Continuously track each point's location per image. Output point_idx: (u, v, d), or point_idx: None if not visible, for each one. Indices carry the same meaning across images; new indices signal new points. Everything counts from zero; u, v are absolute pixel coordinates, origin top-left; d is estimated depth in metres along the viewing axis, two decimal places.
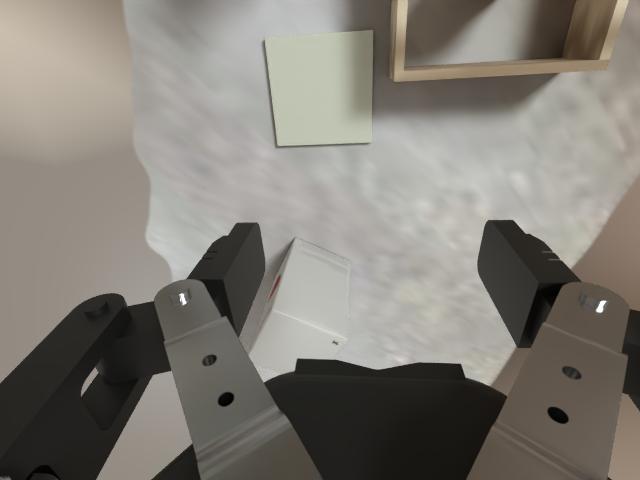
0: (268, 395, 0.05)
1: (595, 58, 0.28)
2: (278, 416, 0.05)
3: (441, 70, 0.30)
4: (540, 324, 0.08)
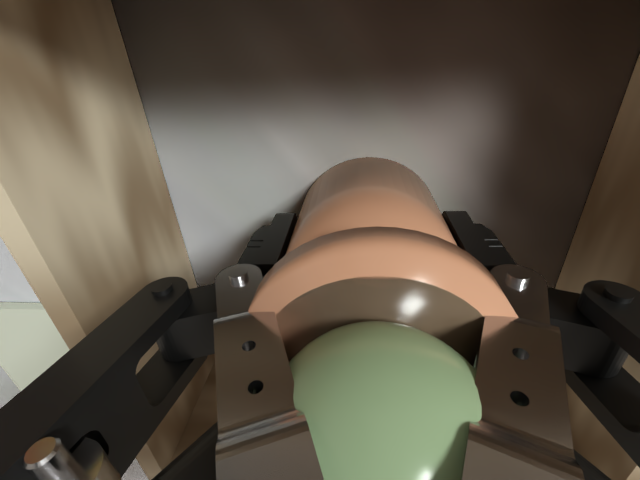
0: None
1: None
2: (299, 416, 0.05)
3: None
4: None
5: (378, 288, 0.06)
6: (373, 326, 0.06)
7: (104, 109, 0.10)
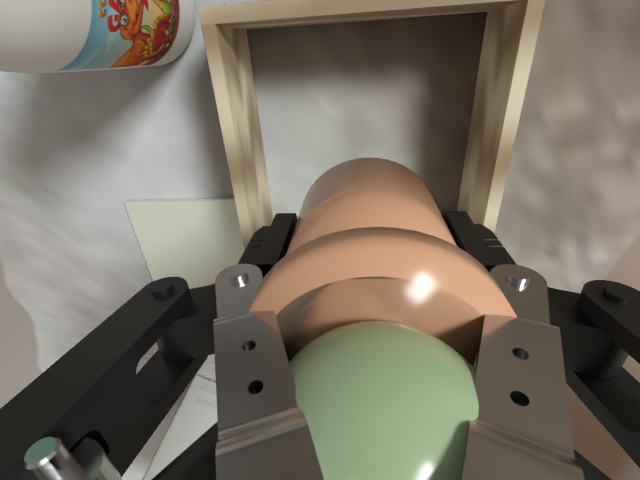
0: (295, 392, 0.05)
1: None
2: (299, 416, 0.05)
3: None
4: None
5: (378, 288, 0.06)
6: (373, 326, 0.06)
7: (245, 79, 0.23)
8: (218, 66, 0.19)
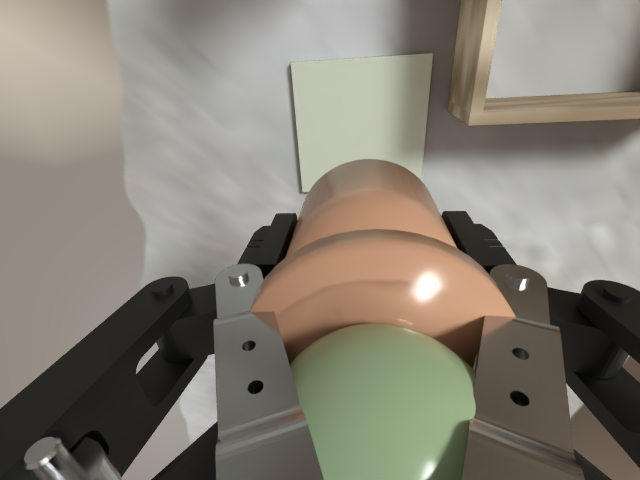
0: (295, 392, 0.05)
1: None
2: (299, 416, 0.05)
3: (534, 111, 0.22)
4: None
5: (378, 290, 0.06)
6: (373, 328, 0.06)
7: None
8: None
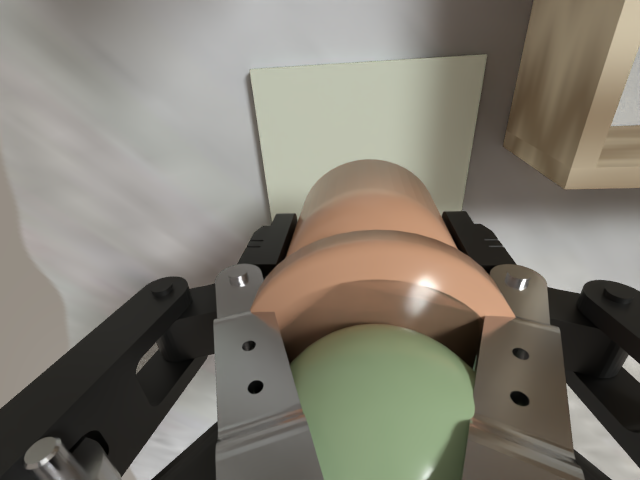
0: (295, 392, 0.05)
1: None
2: (299, 416, 0.05)
3: None
4: None
5: (378, 291, 0.06)
6: (373, 329, 0.06)
7: None
8: None
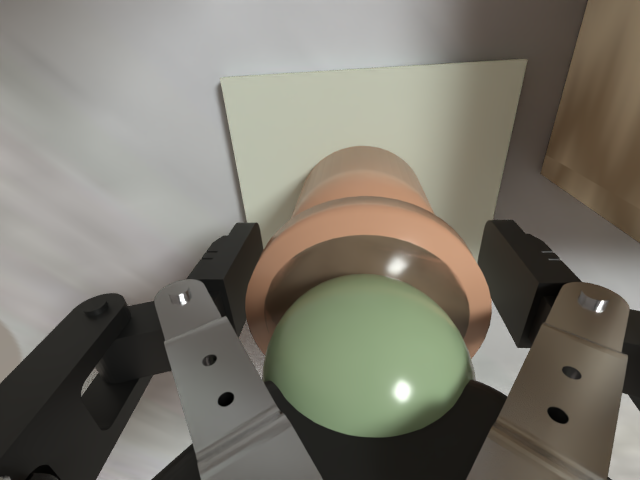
0: (268, 395, 0.05)
1: None
2: (278, 416, 0.05)
3: None
4: (540, 324, 0.08)
5: (363, 245, 0.08)
6: (359, 275, 0.07)
7: None
8: None
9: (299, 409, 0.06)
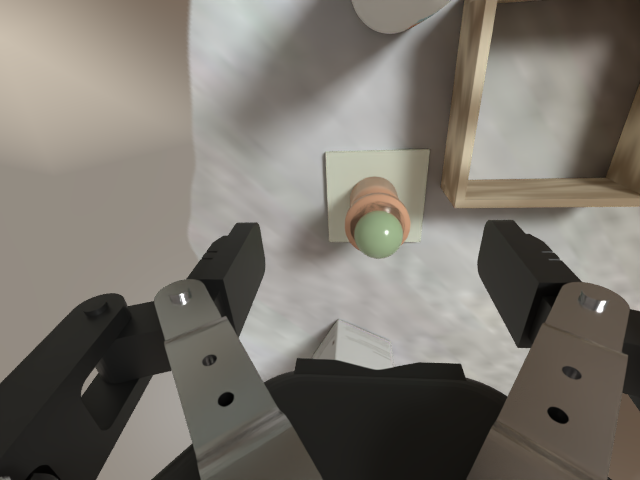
0: (268, 395, 0.05)
1: None
2: (278, 416, 0.05)
3: (500, 200, 0.32)
4: (540, 324, 0.08)
5: (378, 204, 0.31)
6: (377, 210, 0.31)
7: None
8: (489, 26, 0.25)
9: (366, 231, 0.29)
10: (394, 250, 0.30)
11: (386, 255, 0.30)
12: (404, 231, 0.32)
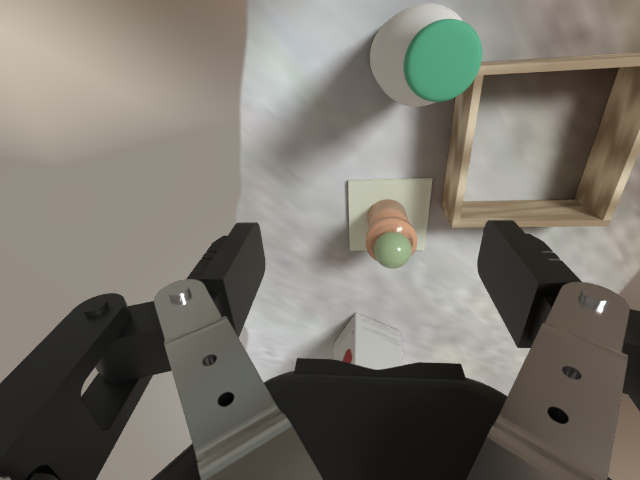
0: (268, 395, 0.05)
1: (600, 217, 0.39)
2: (278, 416, 0.05)
3: None
4: (540, 324, 0.08)
5: (392, 226, 0.40)
6: (391, 231, 0.40)
7: None
8: (477, 97, 0.34)
9: (384, 248, 0.38)
10: (405, 262, 0.39)
11: (399, 266, 0.39)
12: (412, 246, 0.41)
